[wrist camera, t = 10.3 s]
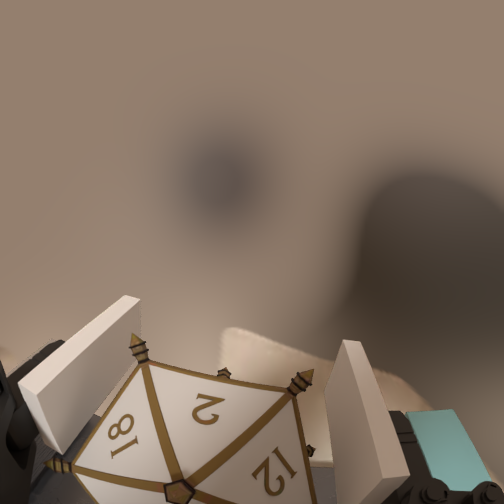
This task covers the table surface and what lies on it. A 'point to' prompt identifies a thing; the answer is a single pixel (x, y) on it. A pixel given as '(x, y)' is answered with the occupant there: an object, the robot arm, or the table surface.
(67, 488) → the vise bed
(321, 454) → the table surface
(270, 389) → the game die
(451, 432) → the block
